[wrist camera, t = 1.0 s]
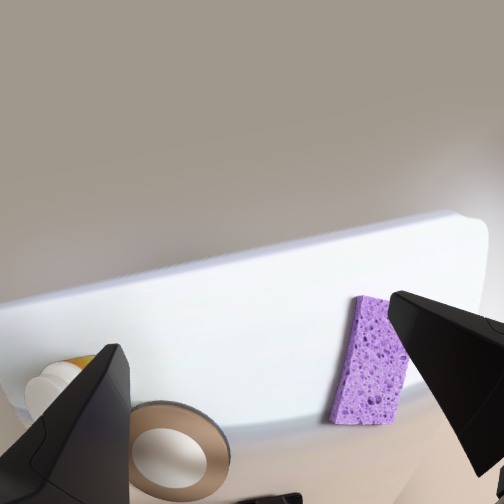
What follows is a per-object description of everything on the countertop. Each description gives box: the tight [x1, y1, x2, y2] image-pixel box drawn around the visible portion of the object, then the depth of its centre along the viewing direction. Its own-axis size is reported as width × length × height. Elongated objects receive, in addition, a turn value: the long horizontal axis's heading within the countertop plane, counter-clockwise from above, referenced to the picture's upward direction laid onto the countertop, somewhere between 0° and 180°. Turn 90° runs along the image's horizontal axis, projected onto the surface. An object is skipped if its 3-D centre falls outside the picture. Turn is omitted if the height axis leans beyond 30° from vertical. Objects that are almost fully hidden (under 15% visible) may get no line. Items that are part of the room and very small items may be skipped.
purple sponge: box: [329, 295, 410, 425], centre depth 24 cm, size 7×13×2 cm, turn 166°
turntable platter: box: [129, 404, 229, 502], centre depth 19 cm, size 10×10×2 cm
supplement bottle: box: [24, 355, 96, 422], centre depth 16 cm, size 5×5×10 cm
